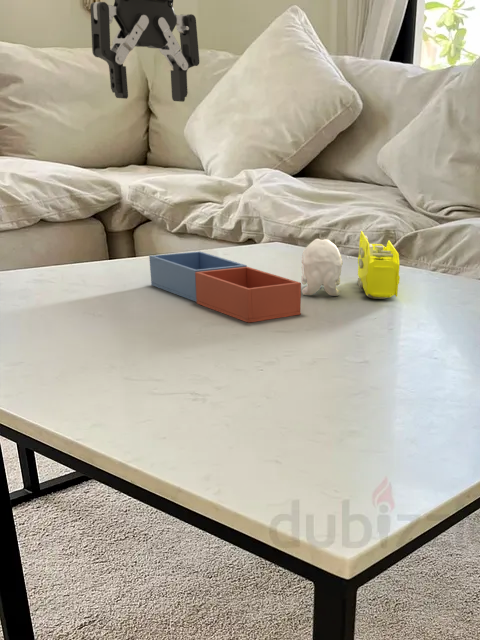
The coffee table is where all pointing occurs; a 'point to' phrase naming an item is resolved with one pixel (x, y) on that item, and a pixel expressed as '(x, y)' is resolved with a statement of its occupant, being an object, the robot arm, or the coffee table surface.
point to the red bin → (248, 294)
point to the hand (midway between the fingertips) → (150, 99)
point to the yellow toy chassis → (378, 269)
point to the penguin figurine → (321, 267)
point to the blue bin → (184, 271)
